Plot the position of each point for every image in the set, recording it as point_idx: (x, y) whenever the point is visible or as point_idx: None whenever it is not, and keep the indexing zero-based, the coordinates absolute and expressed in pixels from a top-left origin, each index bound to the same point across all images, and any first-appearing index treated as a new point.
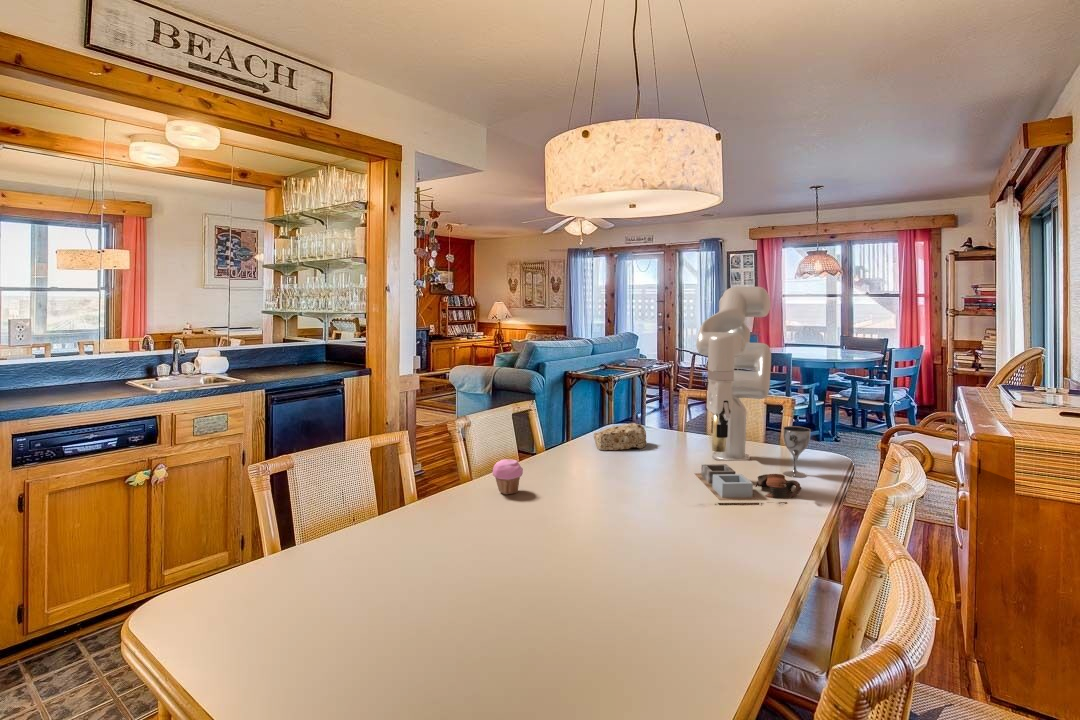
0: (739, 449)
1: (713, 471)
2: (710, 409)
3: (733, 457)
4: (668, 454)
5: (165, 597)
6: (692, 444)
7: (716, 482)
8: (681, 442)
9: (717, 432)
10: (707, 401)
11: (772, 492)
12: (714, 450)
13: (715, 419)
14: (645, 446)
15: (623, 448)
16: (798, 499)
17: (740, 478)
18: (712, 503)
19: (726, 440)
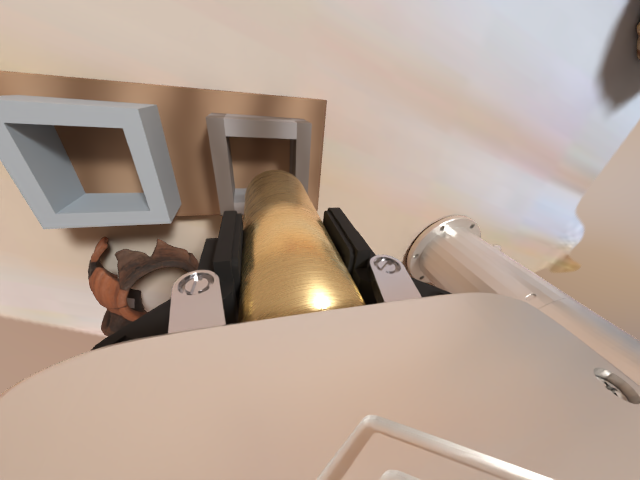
0: (432, 275)
1: (216, 138)
2: (354, 335)
3: (424, 253)
4: (540, 106)
5: None
6: (556, 201)
7: (83, 103)
8: (583, 180)
9: (221, 227)
10: (617, 412)
11: (91, 265)
12: (259, 175)
13: (265, 282)
14: (637, 56)
15: None
16: (156, 302)
17: (134, 208)
18: (8, 47)
19: (464, 264)
